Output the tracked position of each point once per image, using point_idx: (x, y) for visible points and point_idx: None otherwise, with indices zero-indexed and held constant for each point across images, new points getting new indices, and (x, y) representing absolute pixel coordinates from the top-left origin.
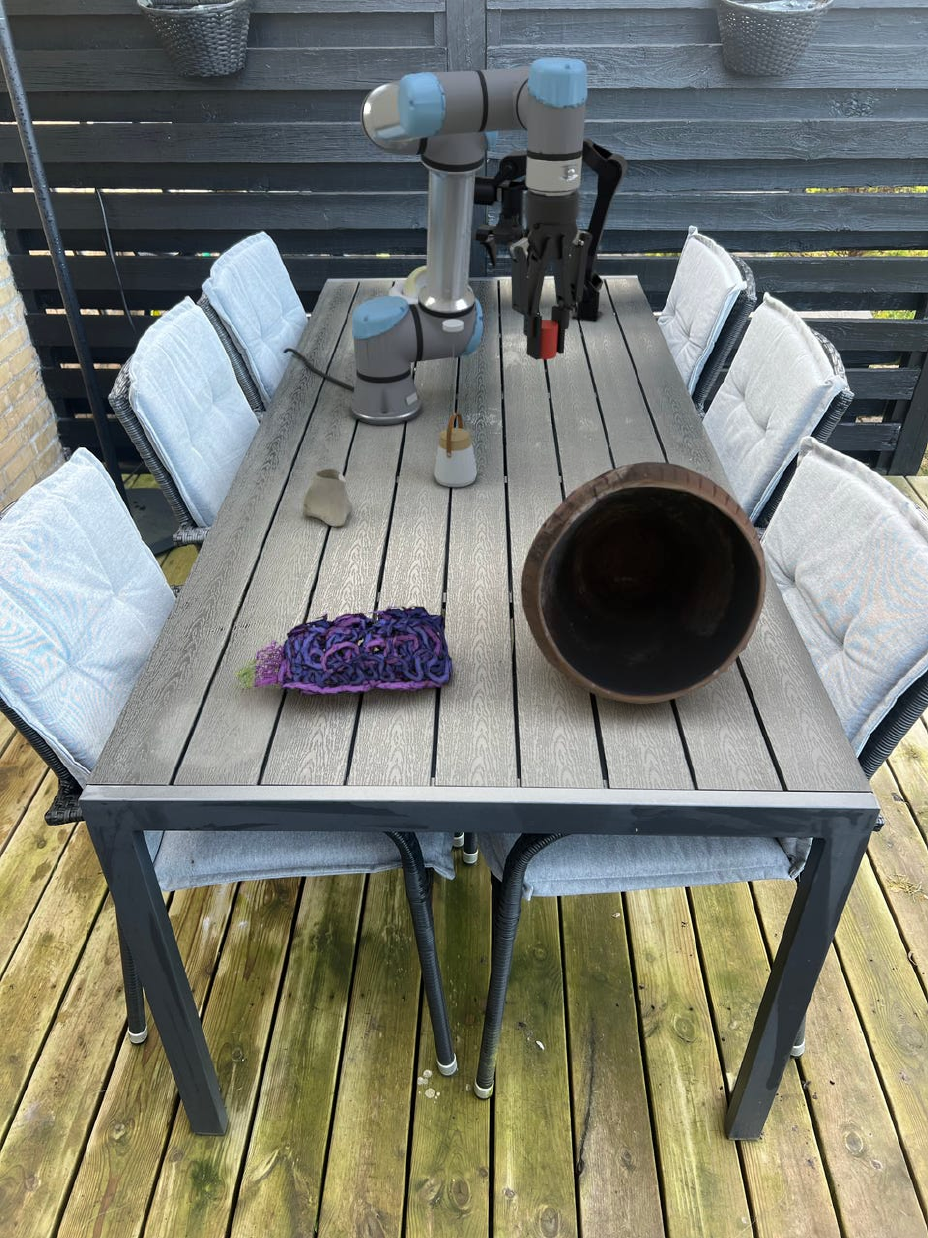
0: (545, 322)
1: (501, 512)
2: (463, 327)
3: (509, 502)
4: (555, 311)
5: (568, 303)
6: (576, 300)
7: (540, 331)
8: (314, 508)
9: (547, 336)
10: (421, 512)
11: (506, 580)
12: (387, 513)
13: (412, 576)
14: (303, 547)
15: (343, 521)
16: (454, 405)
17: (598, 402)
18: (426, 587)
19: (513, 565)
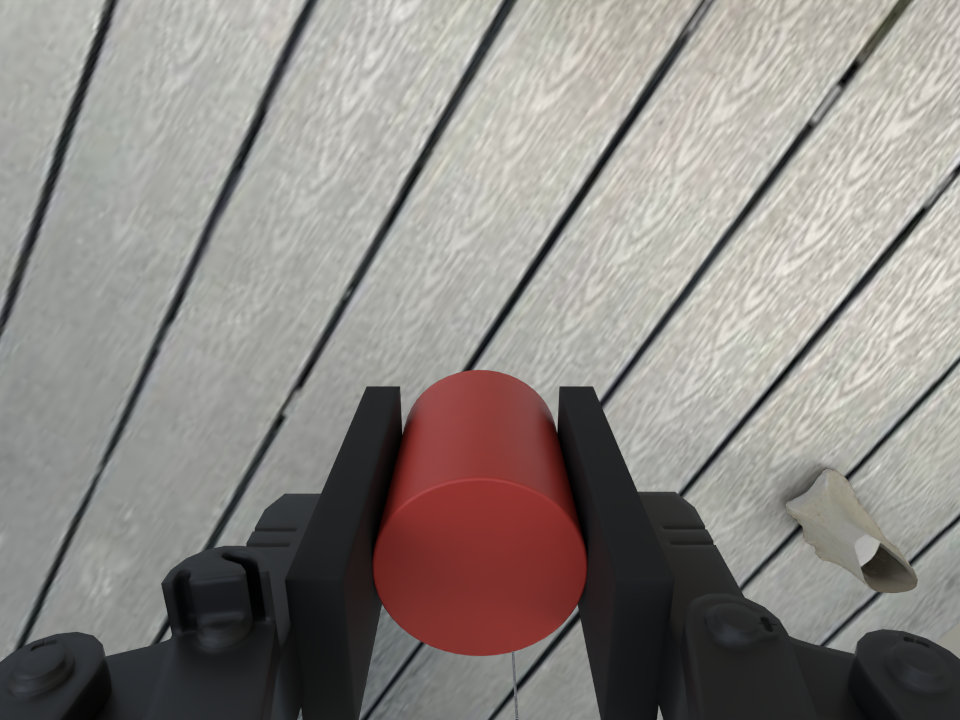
0: (462, 599)
1: (497, 348)
2: None
3: None
4: (358, 651)
5: (228, 642)
6: (94, 656)
7: (604, 485)
8: (875, 529)
9: (524, 449)
10: (650, 437)
11: (663, 84)
12: (713, 469)
13: (828, 222)
14: (934, 441)
15: (830, 473)
16: (513, 658)
17: (22, 640)
18: (832, 164)
19: (609, 133)
